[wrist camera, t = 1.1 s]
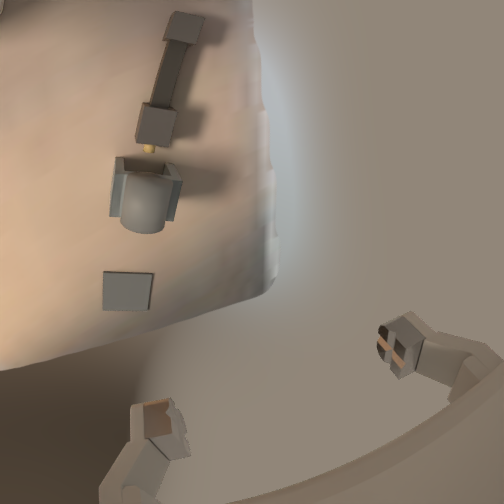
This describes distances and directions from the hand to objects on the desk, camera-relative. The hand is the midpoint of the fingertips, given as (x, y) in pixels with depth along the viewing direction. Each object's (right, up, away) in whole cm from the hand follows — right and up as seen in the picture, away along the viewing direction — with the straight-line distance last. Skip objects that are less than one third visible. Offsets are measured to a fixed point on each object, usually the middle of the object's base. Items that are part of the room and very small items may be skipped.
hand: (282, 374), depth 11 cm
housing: (-18, +15, +33) cm, 41 cm away
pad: (-24, -3, +44) cm, 50 cm away
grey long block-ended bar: (-13, +28, +27) cm, 41 cm away
